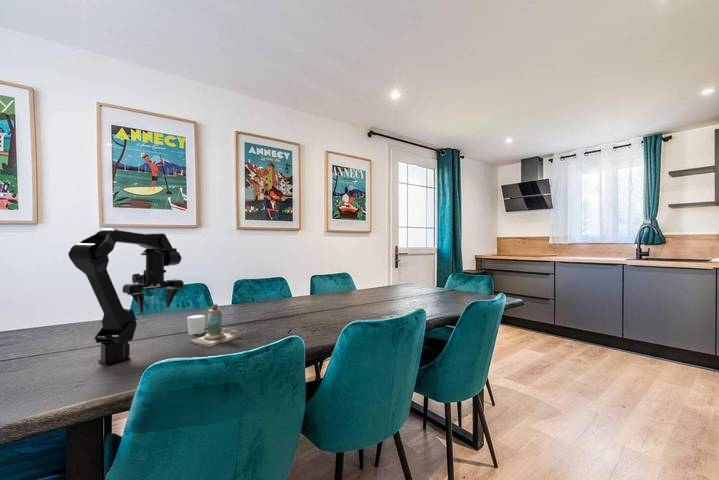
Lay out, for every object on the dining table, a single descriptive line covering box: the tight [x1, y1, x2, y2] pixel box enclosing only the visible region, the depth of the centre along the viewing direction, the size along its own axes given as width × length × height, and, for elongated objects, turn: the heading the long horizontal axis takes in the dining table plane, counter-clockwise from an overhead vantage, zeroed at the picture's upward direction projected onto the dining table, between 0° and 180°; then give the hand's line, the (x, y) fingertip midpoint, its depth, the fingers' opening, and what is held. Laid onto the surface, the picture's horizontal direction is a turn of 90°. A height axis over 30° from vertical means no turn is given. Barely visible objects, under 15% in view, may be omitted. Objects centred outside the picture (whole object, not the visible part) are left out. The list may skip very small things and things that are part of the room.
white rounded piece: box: [186, 314, 206, 336], centre depth 132 cm, size 7×7×7 cm
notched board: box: [189, 327, 239, 348], centre depth 123 cm, size 14×10×2 cm
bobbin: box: [204, 304, 224, 340], centre depth 123 cm, size 7×7×12 cm
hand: (154, 309), depth 117 cm, fingers open, 9 cm apart
